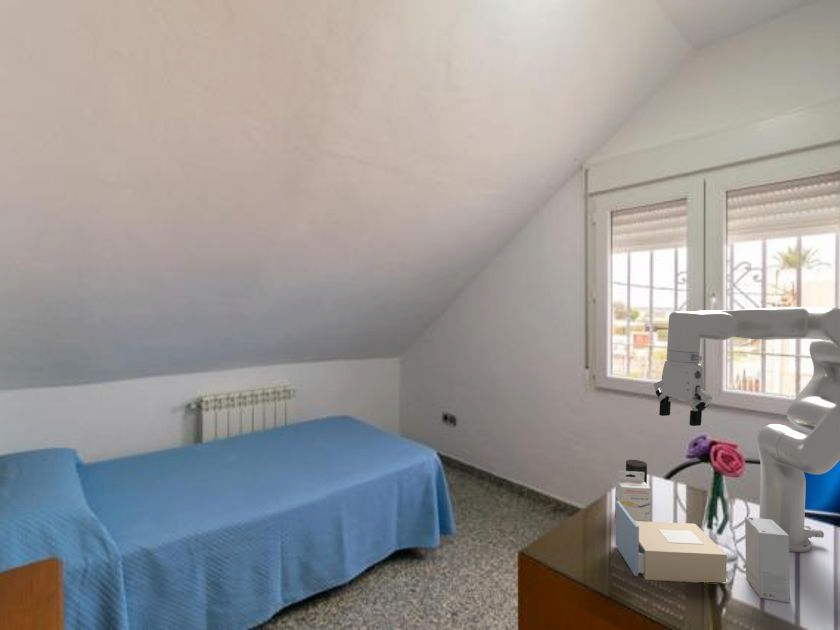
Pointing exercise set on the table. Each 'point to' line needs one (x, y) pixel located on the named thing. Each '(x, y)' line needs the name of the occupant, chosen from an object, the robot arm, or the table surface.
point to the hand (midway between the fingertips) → (679, 420)
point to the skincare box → (767, 559)
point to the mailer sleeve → (680, 553)
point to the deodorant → (636, 468)
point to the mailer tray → (629, 540)
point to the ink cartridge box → (633, 495)
